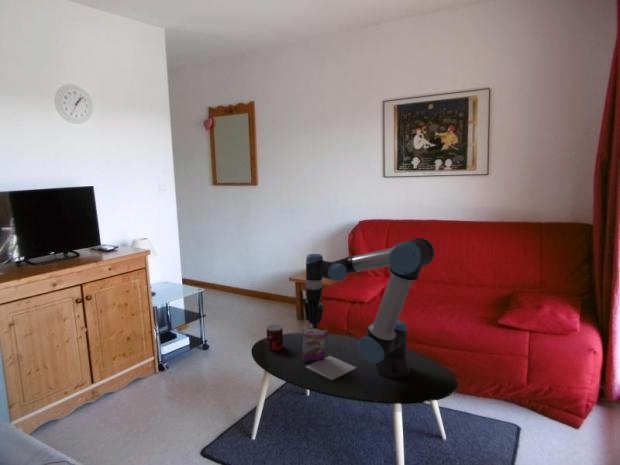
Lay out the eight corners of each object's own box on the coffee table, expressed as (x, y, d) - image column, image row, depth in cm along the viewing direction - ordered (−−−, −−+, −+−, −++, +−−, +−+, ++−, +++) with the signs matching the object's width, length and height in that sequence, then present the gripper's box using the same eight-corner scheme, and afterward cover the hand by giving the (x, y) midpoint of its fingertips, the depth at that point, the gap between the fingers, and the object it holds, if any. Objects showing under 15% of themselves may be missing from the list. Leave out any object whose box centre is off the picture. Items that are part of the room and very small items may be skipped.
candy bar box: (300, 358, 206) (301, 334, 196) (302, 350, 210) (303, 326, 201) (324, 361, 205) (326, 337, 196) (325, 353, 209) (327, 329, 200)
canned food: (267, 345, 225) (266, 324, 223) (282, 344, 226) (282, 324, 224) (267, 351, 217) (266, 330, 216) (283, 350, 218) (282, 329, 217)
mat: (356, 368, 198) (356, 367, 198) (331, 380, 188) (331, 379, 188) (330, 356, 211) (330, 355, 211) (305, 367, 200) (305, 366, 200)
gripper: (329, 289, 199) (328, 338, 203) (310, 282, 208) (309, 329, 213) (317, 292, 194) (316, 342, 198) (298, 285, 203) (297, 333, 208)
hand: (313, 335), depth 205 cm, fingers closed
